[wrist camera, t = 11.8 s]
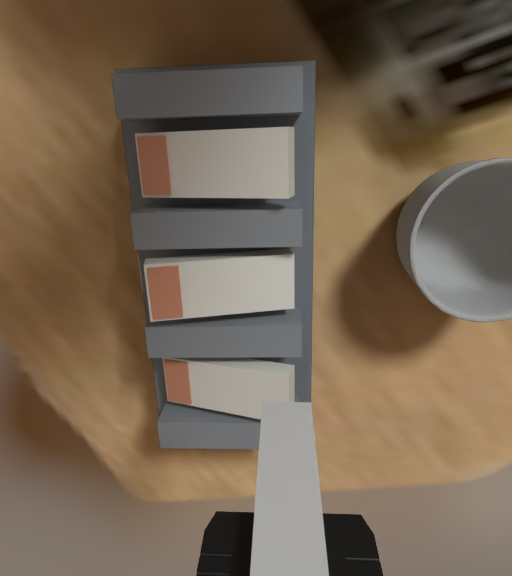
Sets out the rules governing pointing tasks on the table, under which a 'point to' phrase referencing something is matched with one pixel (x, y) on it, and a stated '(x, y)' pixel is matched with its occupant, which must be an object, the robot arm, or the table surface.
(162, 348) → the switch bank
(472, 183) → the teacup
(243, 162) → the rocker
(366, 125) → the table surface
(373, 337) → the table surface
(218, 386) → the rocker
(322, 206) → the table surface
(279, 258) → the block
